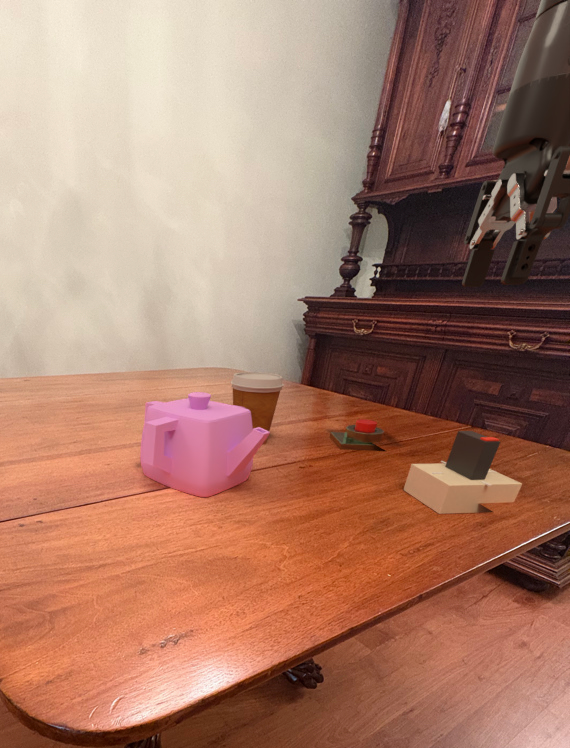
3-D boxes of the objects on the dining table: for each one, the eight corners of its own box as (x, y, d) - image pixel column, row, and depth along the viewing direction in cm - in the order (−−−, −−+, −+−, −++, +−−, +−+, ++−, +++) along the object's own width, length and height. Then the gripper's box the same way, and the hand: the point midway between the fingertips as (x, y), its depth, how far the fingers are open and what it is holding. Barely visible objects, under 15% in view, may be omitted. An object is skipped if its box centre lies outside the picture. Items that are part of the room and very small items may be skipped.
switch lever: (444, 466, 59) (458, 429, 56) (458, 466, 59) (472, 428, 57) (470, 479, 55) (486, 440, 52) (485, 479, 55) (501, 439, 52)
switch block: (380, 439, 84) (384, 424, 83) (395, 452, 78) (400, 436, 76) (329, 437, 85) (332, 422, 84) (339, 449, 78) (343, 433, 77)
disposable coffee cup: (258, 432, 87) (266, 370, 81) (284, 446, 80) (295, 378, 74) (216, 436, 85) (222, 372, 79) (240, 450, 77) (247, 381, 71)
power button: (371, 428, 82) (373, 419, 81) (377, 433, 78) (380, 424, 78) (351, 428, 82) (354, 418, 81) (357, 433, 79) (359, 423, 78)
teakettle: (141, 458, 72) (140, 382, 66) (240, 459, 73) (248, 383, 67) (138, 499, 58) (136, 406, 51) (262, 500, 58) (275, 407, 52)
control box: (463, 486, 63) (474, 460, 61) (513, 513, 56) (527, 484, 53) (400, 488, 63) (409, 461, 60) (442, 516, 55) (453, 486, 53)
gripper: (671, 43, 33) (570, 284, 41) (551, 112, 46) (491, 287, 54) (567, 48, 34) (488, 283, 42) (477, 114, 46) (429, 286, 54)
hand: (490, 285), depth 48 cm, fingers open, 8 cm apart
